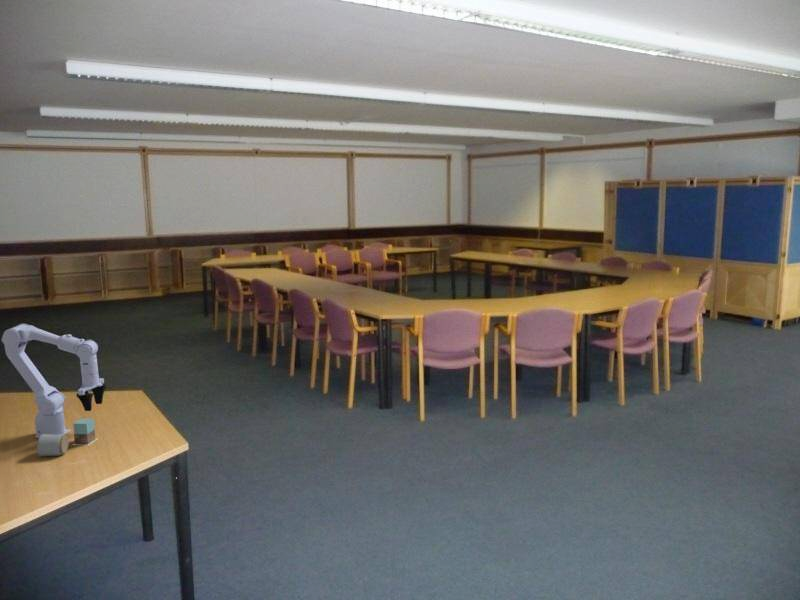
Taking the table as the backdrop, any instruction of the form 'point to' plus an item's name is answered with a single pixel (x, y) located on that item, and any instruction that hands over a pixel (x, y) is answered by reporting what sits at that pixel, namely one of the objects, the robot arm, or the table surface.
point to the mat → (86, 444)
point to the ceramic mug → (52, 445)
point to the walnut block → (84, 438)
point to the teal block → (84, 426)
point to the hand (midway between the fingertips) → (93, 407)
